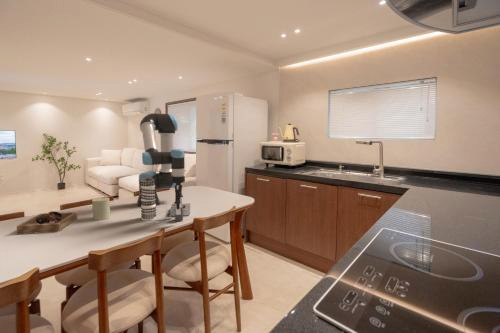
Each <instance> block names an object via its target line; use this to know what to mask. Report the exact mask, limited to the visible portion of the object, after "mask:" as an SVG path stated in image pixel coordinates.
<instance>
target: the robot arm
mask: <svg viewBox="0 0 500 333" xmlns="http://www.w3.org/2000/svg"><path fill="white" fill-rule="evenodd" d="M139 129H140V132H141V134H142V140H143V146H144V147H143V148H144V152H142V155H141V159H142V160H141V161H142V164H143V165H144V166H155V165H156V166H157V165H159V166H160V169H159V171H158V172H156V171H155V170H152V171H144V172H141V173H140V174H139V175H138V187H139V188H138V189H139V190H138V192H139V193H138V197H137V201H136V205H137V206H138V207H141V205H142V201H141V198H140V196H141V195H140V193H141V192H140V187H141V181H140V180H142V178H144V177H152V178H153V179H155V180H154V182H155V183H154V184H155V186H156V187H155V188H154V189H156V191H155V192H156V193H155V195H156V197H155V198H156V200H155V204H156V206H158V205H159V204H160V198H159V196H158V193H157V190H165V189H174V195H175V197H174V198H175V199H174V200H175V201H174V202H173V204H176V215H181V206H182V204H183V198H184V195H183V194H182V193H183V189H182V188H183V184H184V183H185V181H186V176H185V175H186V174H185V172H187V171H186V169H185V150H184V149H181V148H174V135H175V134H176V131H178V119H177V117H176V116H175V114H172V113H154V112H153V113H149V114H146V115H145V116H144V117H143V118H141V120H140V124H139ZM155 131H157V133H158V134H159V136H160V151H159V148H158V143H157V138H156V132H155ZM182 183H183V184H182Z"/></svg>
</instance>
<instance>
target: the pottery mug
mask: <svg viewBox="0 0 500 333" xmlns="http://www.w3.org/2000/svg"><path fill="white" fill-rule="evenodd" d="M61 213H62V212H59V211H49V212H48V214H46V215H45V216H44V217H43V216H40V217H37V219H36V222H37V223H38V224H50V223H51V222H53V223H58V222H60V221H61V220H62V219H63V218H62V217H63V215H62V214H61ZM51 214H54V215H59V216H60V218H57V220H55V218H54V217H52V216H50V215H51ZM39 220H42V221H39ZM49 222H50V223H49Z"/></svg>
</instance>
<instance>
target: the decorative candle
mask: <svg viewBox="0 0 500 333" xmlns="http://www.w3.org/2000/svg"><path fill="white" fill-rule="evenodd" d="M154 180H155V179H153V178H152V177H144V178H142V180H140V181H141V187H140V192H141V193H140V195H141V196H140V198H141V201H142V205H141V206H140V209H141V211H140V212H141V215H140V217H141V220H142V221H145V222H147V221H148V222H150V221H154V220H156V219H157V209H156V208H157V205H156V204H155V200H156V198H155V197H156V195H155V193H156V192H155V191H156V189H154V188H155V187H156V186H155V184H154V183H155V182H154Z"/></svg>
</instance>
